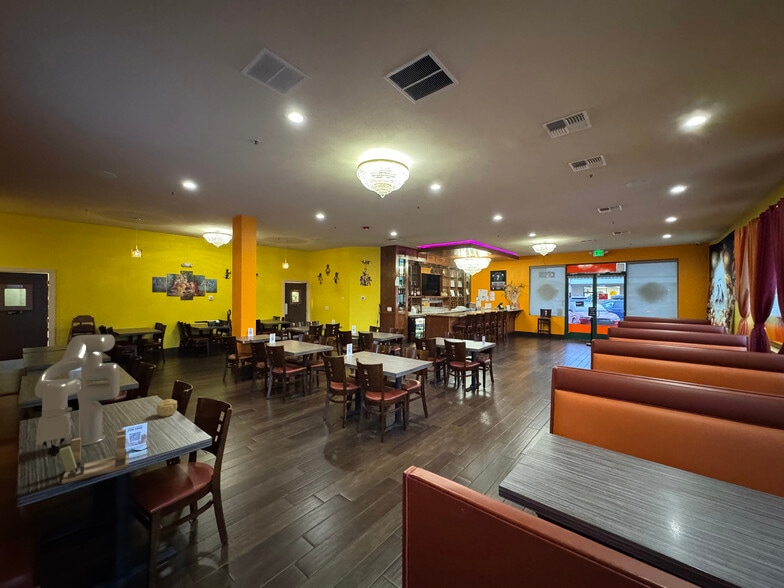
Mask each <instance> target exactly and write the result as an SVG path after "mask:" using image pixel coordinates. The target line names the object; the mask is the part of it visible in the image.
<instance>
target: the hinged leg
mask: <svg viewBox="0 0 784 588" xmlns="http://www.w3.org/2000/svg"><path fill="white" fill-rule="evenodd" d="M59 455H60V457H61V460H62V464H63V467H64V470H65V472H69V471H70V473H73V472H76V470H74V469H76V467H77V465H76V462H75V459H74V456H73V453H72V450H71V445H67V446H65V447H62V448H59Z"/></svg>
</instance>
